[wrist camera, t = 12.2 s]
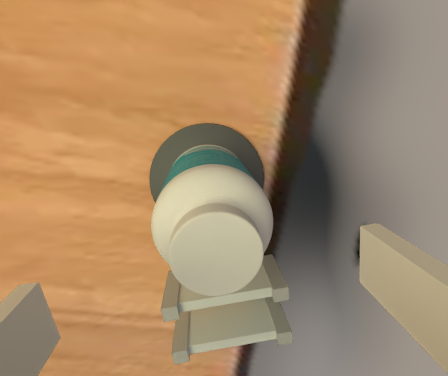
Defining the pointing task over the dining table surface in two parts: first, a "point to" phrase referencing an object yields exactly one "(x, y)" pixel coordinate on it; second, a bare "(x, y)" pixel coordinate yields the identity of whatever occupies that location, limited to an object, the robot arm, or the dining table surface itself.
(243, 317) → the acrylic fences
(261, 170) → the coaster
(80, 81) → the dining table surface
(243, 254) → the pill bottle
